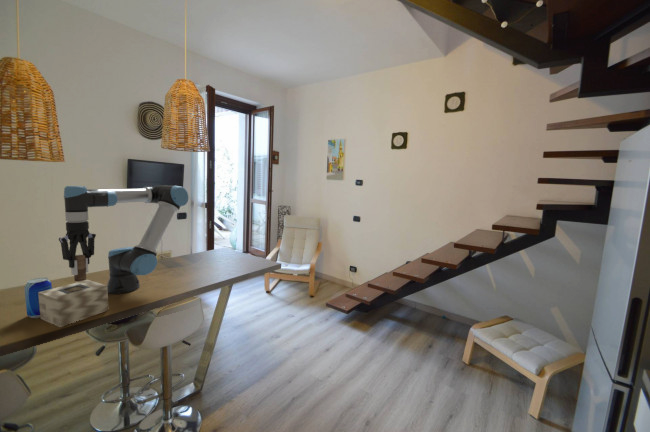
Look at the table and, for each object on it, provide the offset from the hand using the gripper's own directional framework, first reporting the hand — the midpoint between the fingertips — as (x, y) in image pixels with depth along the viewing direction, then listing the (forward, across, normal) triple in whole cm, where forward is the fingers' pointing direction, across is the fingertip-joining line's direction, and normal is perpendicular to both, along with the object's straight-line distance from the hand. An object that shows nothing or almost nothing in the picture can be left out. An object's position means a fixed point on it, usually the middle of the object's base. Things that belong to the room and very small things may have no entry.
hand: (80, 273), depth 126 cm
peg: (+3, 0, 0) cm, 3 cm away
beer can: (+19, +7, -16) cm, 26 cm away
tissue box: (+19, +1, -2) cm, 19 cm away
